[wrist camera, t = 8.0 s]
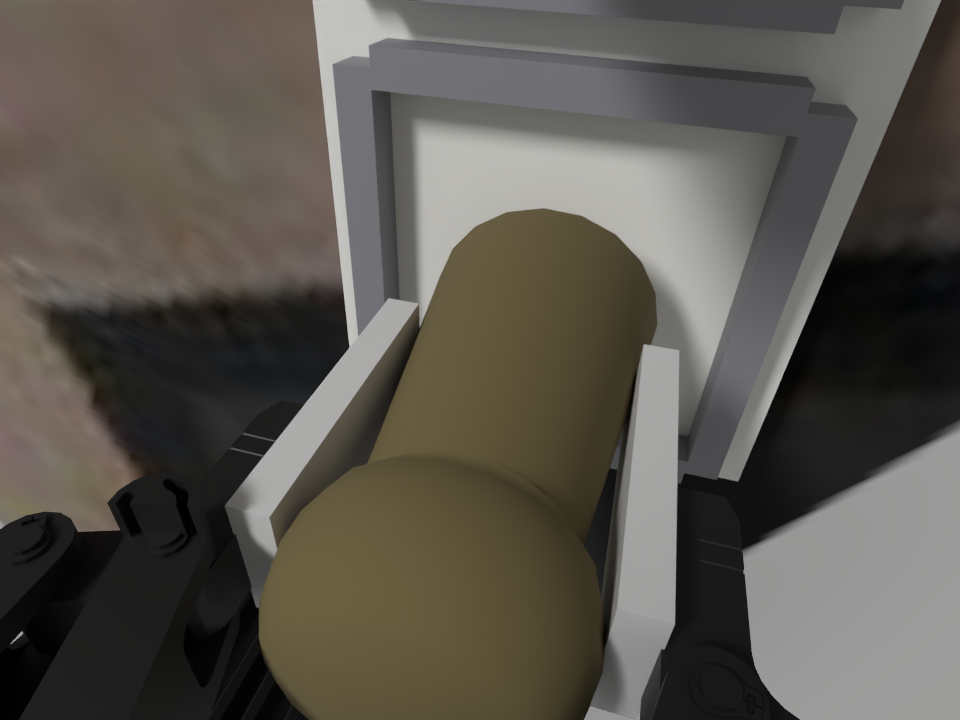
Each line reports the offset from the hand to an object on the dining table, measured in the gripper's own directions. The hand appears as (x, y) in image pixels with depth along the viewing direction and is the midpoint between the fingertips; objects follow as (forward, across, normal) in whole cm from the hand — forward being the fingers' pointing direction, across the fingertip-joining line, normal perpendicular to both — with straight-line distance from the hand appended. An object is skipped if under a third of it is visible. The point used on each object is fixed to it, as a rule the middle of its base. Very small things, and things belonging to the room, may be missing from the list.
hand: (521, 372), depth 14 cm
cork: (+3, 0, 0) cm, 3 cm away
